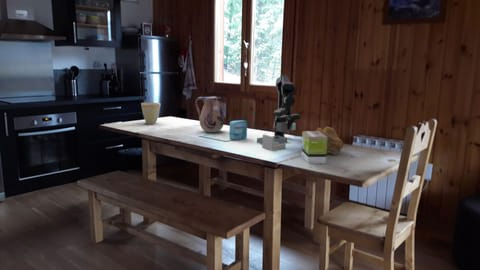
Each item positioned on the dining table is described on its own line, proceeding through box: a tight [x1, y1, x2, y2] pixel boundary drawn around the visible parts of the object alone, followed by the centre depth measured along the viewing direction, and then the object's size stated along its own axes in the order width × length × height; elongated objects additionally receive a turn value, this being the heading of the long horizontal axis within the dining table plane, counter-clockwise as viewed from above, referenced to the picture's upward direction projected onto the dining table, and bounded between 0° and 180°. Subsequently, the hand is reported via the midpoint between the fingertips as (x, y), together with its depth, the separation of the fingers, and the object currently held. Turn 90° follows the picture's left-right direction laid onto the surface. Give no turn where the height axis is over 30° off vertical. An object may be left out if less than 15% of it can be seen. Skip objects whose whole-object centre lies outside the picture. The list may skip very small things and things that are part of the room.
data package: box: [228, 119, 248, 141], centre depth 255 cm, size 12×4×12 cm, turn 133°
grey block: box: [261, 134, 287, 152], centre depth 232 cm, size 12×9×8 cm
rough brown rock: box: [315, 126, 344, 156], centre depth 223 cm, size 23×17×15 cm
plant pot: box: [141, 102, 161, 125], centre depth 304 cm, size 15×15×16 cm
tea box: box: [301, 130, 327, 164], centre depth 206 cm, size 15×10×15 cm
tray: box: [256, 135, 288, 145], centre depth 248 cm, size 18×10×3 cm, turn 125°
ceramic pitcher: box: [194, 96, 225, 133], centre depth 277 cm, size 18×21×25 cm
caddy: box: [275, 121, 297, 132], centre depth 238 cm, size 13×4×5 cm, turn 125°
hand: (285, 128), depth 238 cm, fingers closed on caddy, 4 cm apart
